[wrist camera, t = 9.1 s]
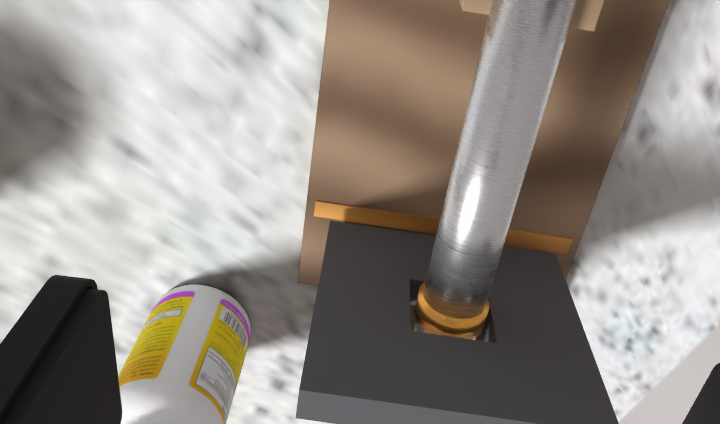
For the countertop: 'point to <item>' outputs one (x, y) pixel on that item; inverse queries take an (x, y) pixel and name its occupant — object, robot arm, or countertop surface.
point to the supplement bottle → (186, 359)
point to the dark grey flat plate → (443, 342)
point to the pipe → (491, 161)
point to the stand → (461, 119)
